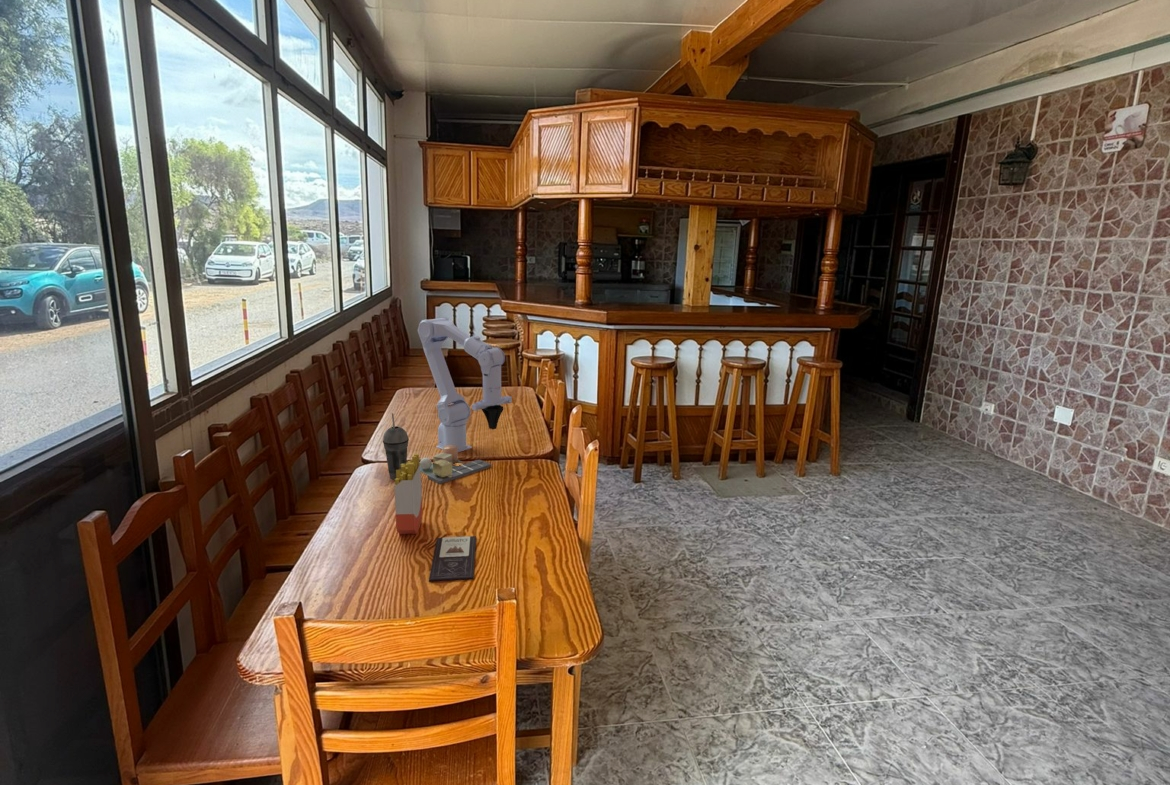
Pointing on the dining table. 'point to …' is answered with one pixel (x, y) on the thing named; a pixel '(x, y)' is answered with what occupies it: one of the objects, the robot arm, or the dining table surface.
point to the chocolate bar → (453, 559)
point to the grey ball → (425, 463)
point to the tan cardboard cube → (442, 468)
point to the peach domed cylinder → (451, 452)
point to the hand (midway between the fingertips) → (492, 428)
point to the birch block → (443, 457)
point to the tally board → (461, 471)
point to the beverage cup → (395, 448)
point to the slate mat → (430, 470)
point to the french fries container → (408, 497)
